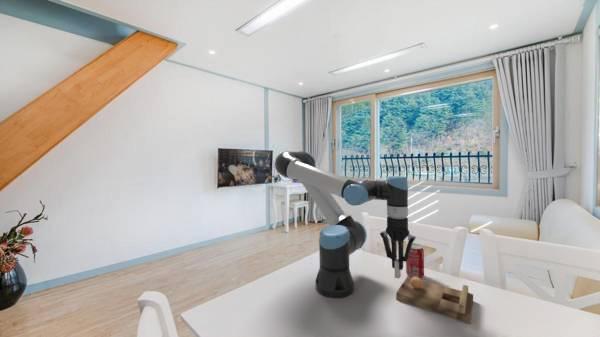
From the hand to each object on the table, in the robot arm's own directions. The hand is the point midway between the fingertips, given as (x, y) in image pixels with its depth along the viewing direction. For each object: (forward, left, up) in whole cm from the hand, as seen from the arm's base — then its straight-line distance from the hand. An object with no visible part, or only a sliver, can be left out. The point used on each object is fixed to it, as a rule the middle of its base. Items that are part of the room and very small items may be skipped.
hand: (397, 276), depth 95 cm
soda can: (+3, +15, -5) cm, 17 cm away
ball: (+7, 0, 0) cm, 7 cm away
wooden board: (+13, 0, -5) cm, 14 cm away
